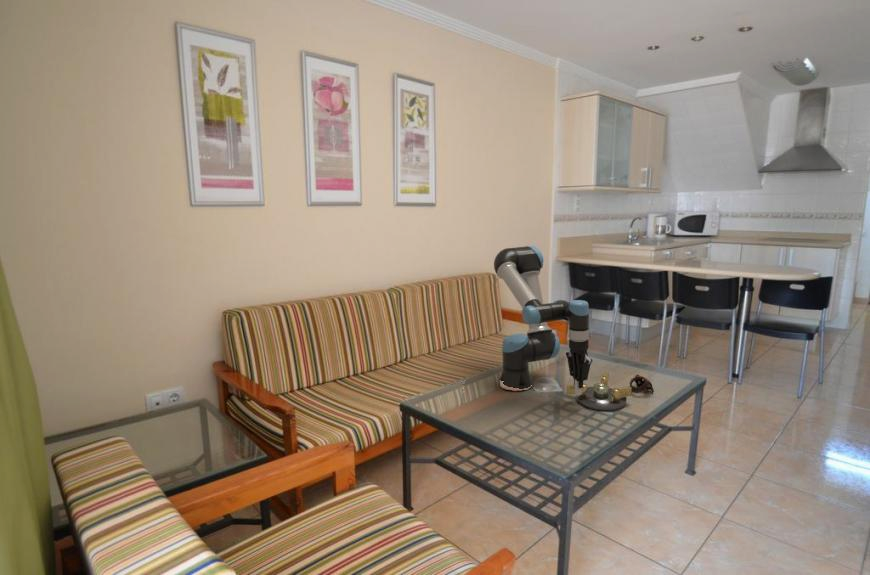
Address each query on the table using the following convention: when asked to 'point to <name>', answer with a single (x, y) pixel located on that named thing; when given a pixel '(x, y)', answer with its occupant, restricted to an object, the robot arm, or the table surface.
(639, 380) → the brown animal skull
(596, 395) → the tribrach
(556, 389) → the table surface
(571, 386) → the knob
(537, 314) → the robot arm
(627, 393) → the knob
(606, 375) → the knob
